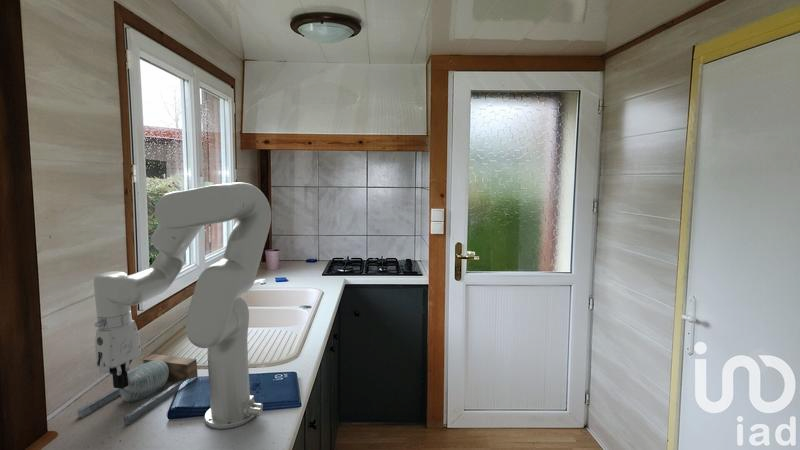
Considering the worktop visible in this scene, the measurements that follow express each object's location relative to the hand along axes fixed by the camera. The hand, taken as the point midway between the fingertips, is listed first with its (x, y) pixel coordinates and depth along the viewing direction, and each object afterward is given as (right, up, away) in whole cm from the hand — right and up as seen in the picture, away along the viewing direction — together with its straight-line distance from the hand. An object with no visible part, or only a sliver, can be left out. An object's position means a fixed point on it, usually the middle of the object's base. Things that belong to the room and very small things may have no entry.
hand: (121, 386), depth 121 cm
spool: (+2, -5, +9) cm, 10 cm away
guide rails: (+1, -5, +5) cm, 8 cm away
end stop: (+4, -4, +18) cm, 19 cm away
